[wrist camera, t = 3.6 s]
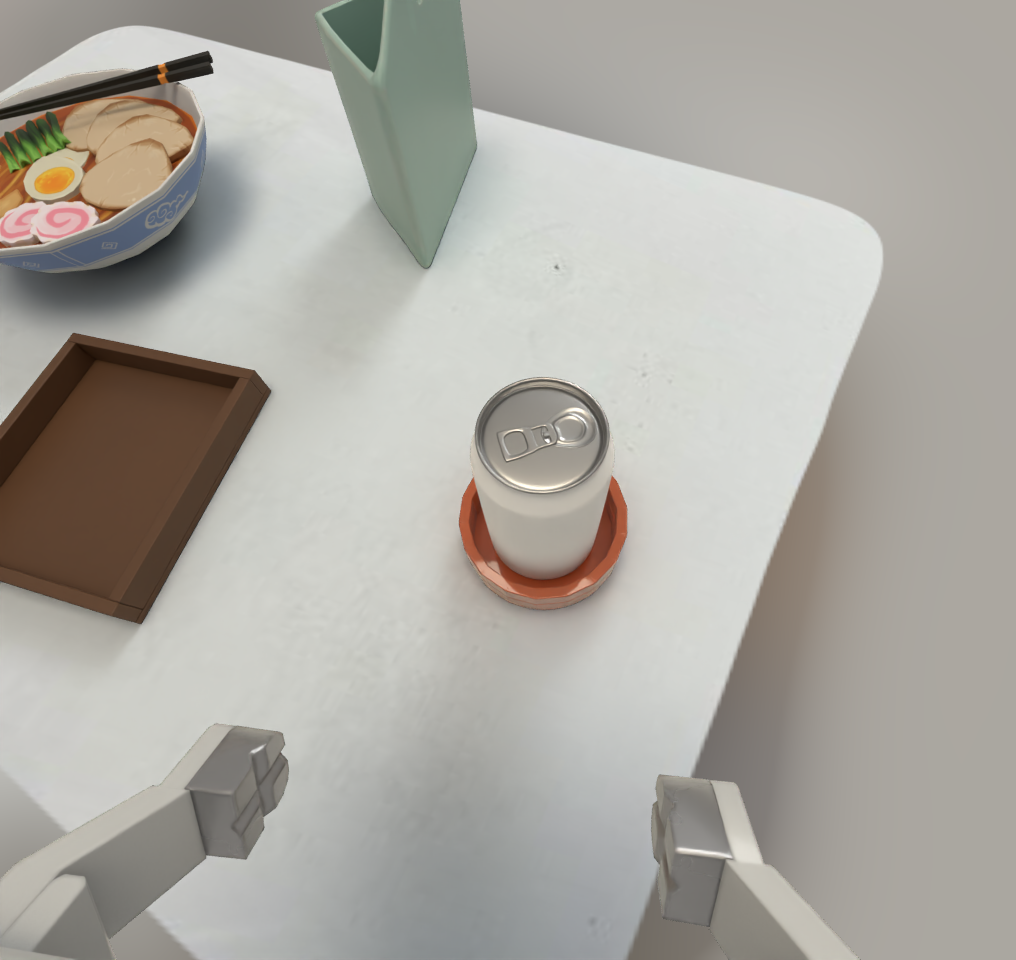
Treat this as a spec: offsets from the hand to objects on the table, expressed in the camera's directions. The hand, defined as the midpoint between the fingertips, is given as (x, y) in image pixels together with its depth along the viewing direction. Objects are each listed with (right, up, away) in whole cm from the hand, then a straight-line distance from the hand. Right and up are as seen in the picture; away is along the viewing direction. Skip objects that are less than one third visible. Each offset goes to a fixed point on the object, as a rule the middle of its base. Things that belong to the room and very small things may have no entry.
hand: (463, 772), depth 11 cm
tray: (-27, +7, +26) cm, 37 cm away
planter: (-8, +32, +36) cm, 49 cm away
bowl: (+3, +3, +22) cm, 22 cm away
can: (+3, +3, +21) cm, 22 cm away
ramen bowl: (-34, +29, +37) cm, 58 cm away
